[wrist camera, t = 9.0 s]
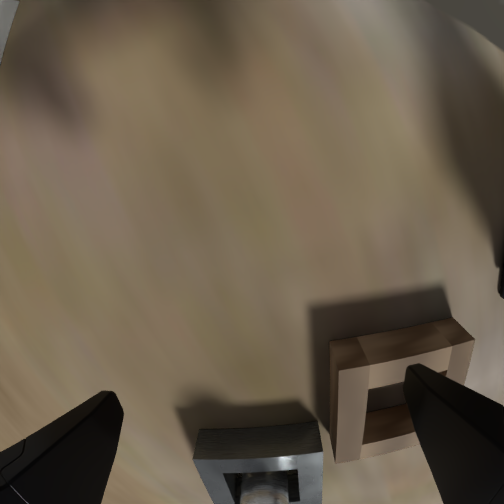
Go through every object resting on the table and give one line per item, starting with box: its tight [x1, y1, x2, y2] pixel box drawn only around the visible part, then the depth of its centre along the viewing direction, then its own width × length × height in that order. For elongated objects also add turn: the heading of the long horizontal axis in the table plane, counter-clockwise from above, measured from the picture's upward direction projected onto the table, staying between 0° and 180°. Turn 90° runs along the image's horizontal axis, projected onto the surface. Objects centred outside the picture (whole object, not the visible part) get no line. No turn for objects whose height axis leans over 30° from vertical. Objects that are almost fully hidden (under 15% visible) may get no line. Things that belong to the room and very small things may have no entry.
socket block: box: [329, 317, 475, 464], centre depth 21 cm, size 10×10×4 cm
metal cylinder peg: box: [240, 470, 289, 504], centre depth 21 cm, size 4×4×9 cm
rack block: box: [193, 421, 323, 504], centre depth 24 cm, size 10×10×4 cm
